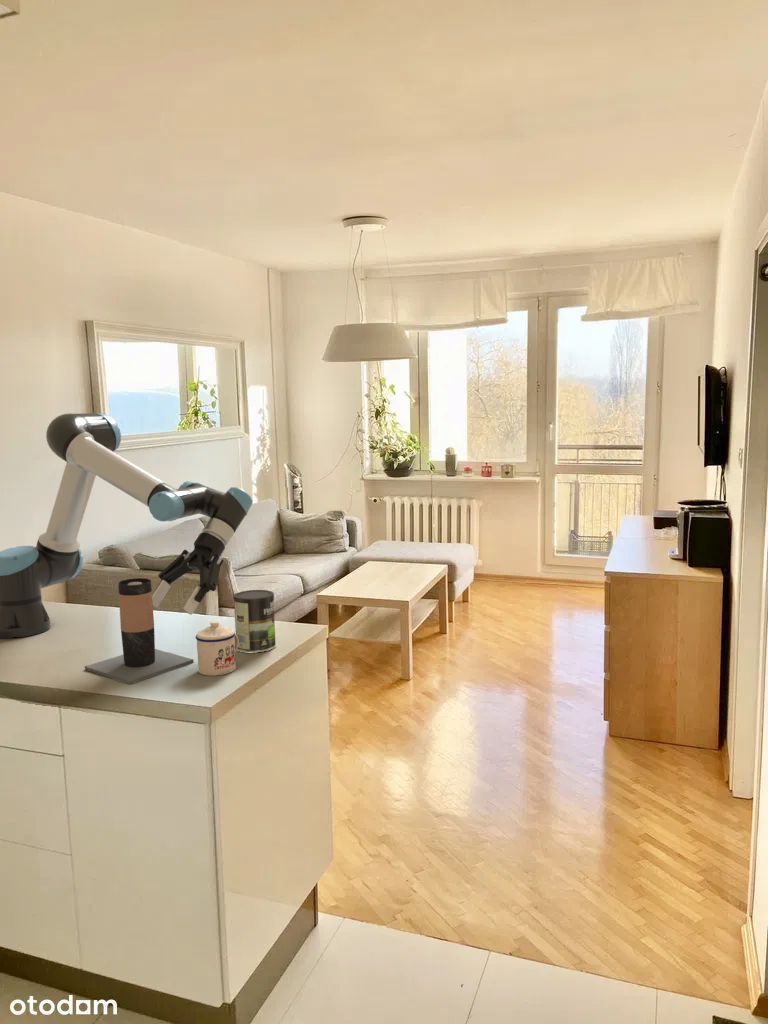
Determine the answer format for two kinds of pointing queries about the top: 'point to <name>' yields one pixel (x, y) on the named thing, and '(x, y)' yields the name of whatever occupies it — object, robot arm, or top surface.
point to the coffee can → (255, 620)
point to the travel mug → (137, 622)
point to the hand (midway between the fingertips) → (169, 608)
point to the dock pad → (134, 674)
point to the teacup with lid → (216, 650)
